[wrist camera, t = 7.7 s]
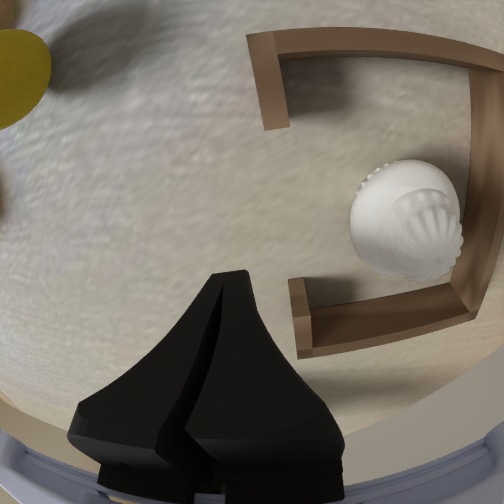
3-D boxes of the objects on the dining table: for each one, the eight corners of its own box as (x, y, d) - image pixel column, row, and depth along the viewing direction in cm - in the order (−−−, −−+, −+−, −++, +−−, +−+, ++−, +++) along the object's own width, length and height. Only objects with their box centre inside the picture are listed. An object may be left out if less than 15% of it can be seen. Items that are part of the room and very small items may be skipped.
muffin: (439, 163, 14) (514, 215, 8) (403, 248, 17) (452, 323, 11) (351, 128, 14) (416, 165, 8) (319, 229, 17) (349, 313, 11)
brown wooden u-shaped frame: (456, 290, 19) (475, 318, 16) (293, 321, 21) (297, 359, 18) (477, 55, 10) (514, 58, 7) (248, 47, 11) (245, 34, 8)
